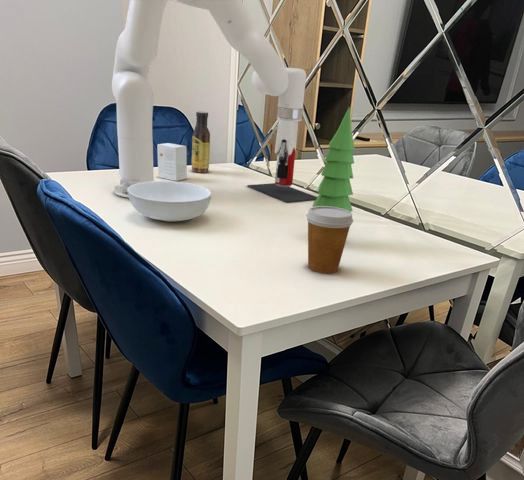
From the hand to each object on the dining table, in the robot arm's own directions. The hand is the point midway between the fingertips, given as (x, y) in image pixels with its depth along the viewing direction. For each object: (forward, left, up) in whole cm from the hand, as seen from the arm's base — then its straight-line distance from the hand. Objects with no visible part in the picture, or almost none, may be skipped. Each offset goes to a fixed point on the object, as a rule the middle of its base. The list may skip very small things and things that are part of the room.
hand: (284, 175), depth 169 cm
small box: (0, +38, -6) cm, 38 cm away
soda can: (0, 0, -3) cm, 3 cm away
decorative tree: (-44, -21, -6) cm, 49 cm away
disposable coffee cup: (-64, -23, -6) cm, 68 cm away
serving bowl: (-44, +20, -6) cm, 49 cm away
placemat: (0, 0, -5) cm, 5 cm away
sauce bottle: (+16, +34, -6) cm, 38 cm away
